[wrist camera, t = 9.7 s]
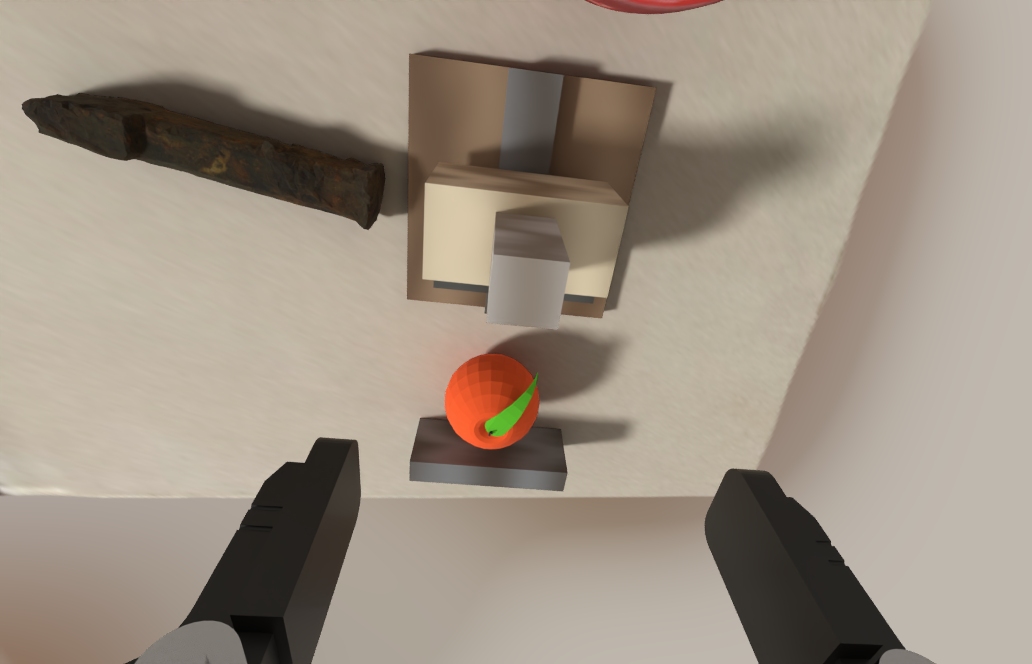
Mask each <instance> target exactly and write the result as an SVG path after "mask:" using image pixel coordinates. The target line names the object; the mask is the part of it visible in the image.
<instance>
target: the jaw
mask: <svg viewBox="0 0 1032 664" xmlns="http://www.w3.org/2000/svg"><path fill="white" fill-rule="evenodd" d="M628 208H629V206H628V205H627V204H626V203H625V202H624V201H623V200H622V198H621V197H620V196H619V195H618V194H617V193H616V191H615V190H614V189H613V188H612V187H611V186H610V185H609V183H608V182H602V181H594V180H585V179H577V178H569V177H560V176H552V175H544V174H536V173H527V172H519V171H511V170H503V169H494V168H486V167H478V166H470V165H461V164H453V163H445V162H439V163H438V164H437V166H436V167H435V169H434V170H433V172H432V173H431V175H430V176H429V178H428V179H427V181H426V182H425V200H424V239H423V277H422V279H426V280H434V285H433V288H442V289H452V290H462V291H472V292H482V293H488V307H487V321H486V323H494V324H504V325H515V326H525V327H536V328H546V329H557V330H558V326H559V320H560V315H561V310H562V304H563V301H571V302H581V303H591V304H593V301H594V297H603V298H607V297H608V293H609V288H610V284H611V280H612V276H613V272H614V267H615V263H616V259H617V255H618V250H619V246H620V242H621V238H622V234H623V229H624V225H625V221H626V217H627V212H628Z"/></svg>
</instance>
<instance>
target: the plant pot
mask: <svg viewBox="0 0 1032 664" xmlns="http://www.w3.org/2000/svg"><path fill="white" fill-rule="evenodd" d="M586 1H587V2H590V3H592V4H595V5H598V6H601V7H604V8H607V9H611V10H615V11H620V12H627V13H638V14H664V13H672V12H680V11H685V10H690V9H694V8H699V7H703V6H706V5H710V4H714V3H717V2H720V1H723V0H586Z"/></svg>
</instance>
